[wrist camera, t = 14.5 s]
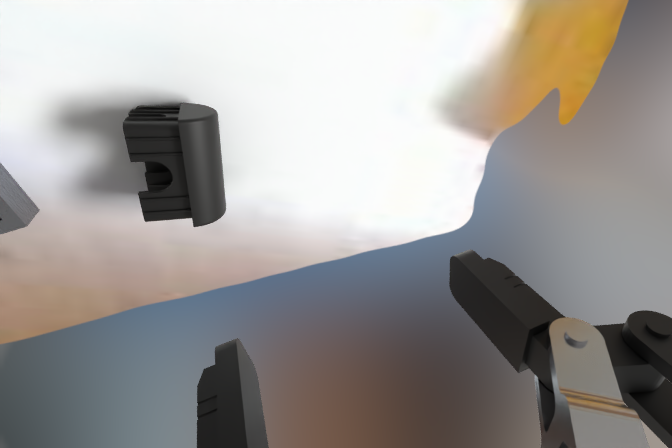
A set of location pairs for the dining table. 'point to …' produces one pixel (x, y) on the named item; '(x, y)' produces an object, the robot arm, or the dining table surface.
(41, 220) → the dining table surface
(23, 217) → the metal collar
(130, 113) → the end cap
